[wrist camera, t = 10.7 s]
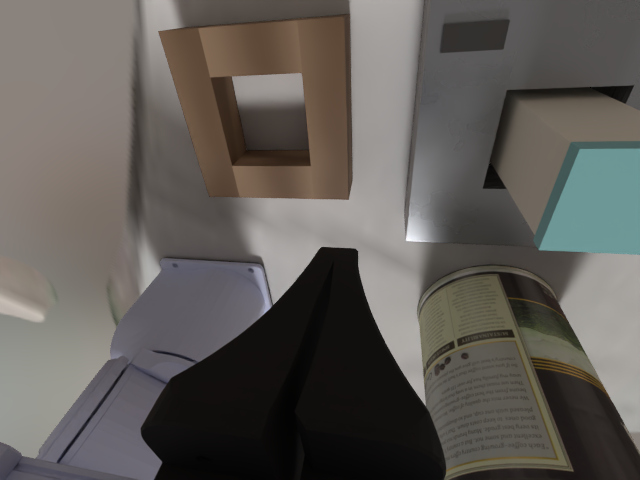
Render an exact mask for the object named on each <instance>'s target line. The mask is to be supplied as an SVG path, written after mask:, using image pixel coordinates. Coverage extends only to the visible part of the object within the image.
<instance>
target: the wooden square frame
mask: <svg viewBox="0 0 640 480" xmlns="http://www.w3.org/2000/svg"><path fill="white" fill-rule="evenodd" d="M158 32H159V35H160V38H161V42H162V45H163V48H164V51H165V55H166V58H167V61H168V64H169V68H170V71H171V74H172V77H173V81H174V84H175V87H176V90H177V94H178V97H179V100H180V103H181V107H182V110H183V113H184V116H185V120H186V123H187V126H188V129H189V133H190V136H191V139H192V142H193V146H194V149H195V152H196V155H197V159H198V162H199V165H200V168H201V172H202V175H203V178H204V181H205V185H206V188H207V191H208V194H209V197H252V198H298V199H344V200H349V195H350V190H351V185H352V116H351V47H350V14H345V15H333V16H320V17H308V18H296V19H284V20H271V21H259V22H247V23H235V24H222V25H210V26H198V27H185V28H178V29H172V30H165V31H158ZM287 73H302V77H303V88H304V98H305V109H306V120H307V130H308V141H309V150H247V149H246V145H245V140H244V135H243V130H242V126H241V121H240V116H239V111H238V107H237V102H236V97H235V92H234V88H233V83H232V78H231V76H247V75H267V74H287Z"/></svg>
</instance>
